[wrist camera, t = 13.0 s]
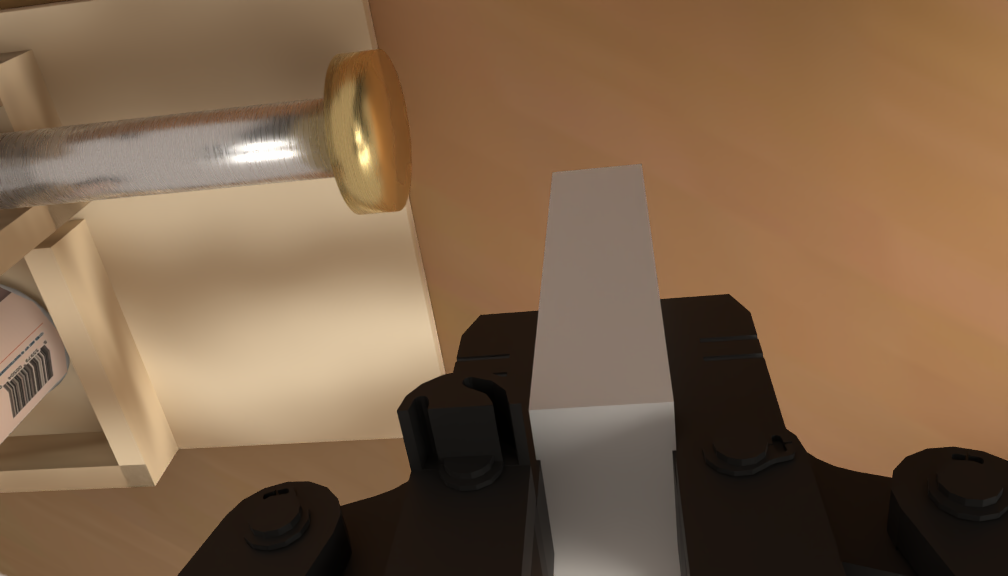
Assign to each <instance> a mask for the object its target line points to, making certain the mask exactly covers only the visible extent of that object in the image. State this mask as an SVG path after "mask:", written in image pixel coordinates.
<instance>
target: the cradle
mask: <svg viewBox="0 0 1008 576" xmlns="http://www.w3.org/2000/svg"><path fill="white" fill-rule="evenodd" d="M375 49H378V46H377V41H376V36H375V31H374V26H373V21H372V17H371V12H370V7H369V2H368V0H71V1H63V2H56V3H48V4H41V5H33V6H26V7H19V8H11V9H4V10H0V133H8V132H17V131H26V130H35V129H44V128H53V127H62V126H71V125H80V124H89V123H98V122H107V121H116V120H125V119H134V118H143V117H152V116H161V115H170V114H179V113H188V112H197V111H206V110H215V109H224V108H233V107H242V106H251V105H260V104H269V103H278V102H287V101H296V100H305V99H314V98H323V97H324V85H325V78H326V73H327V69H328V66H329V63H330V61H331V59H332V58H333V57H334V56H335V55H336V54H341V53H349V52H358V51H366V50H375ZM0 284H2V285H5V286H8V287H10V288H13V289H16V290H19V291H20V292H22V293H23V294H25V295H27V296H28V297H30V298H32V299H33V300H35V301H36V302H37V303H39V304H40V305H41V306H42V307H43V308H44V309H45V310H46V311H47V312H48V313H49V314H50V315H51V317H52V320H53V322H54V324H55V326H56V328H57V331H58V333H59V335H60V337H61V339H62V341H63V344H64V346H65V348H66V350H67V352H68V355H69V358H70V363H69V368H68V371H67V374H66V376H65V377H64V379H63V380H62V382H61V383H60V384H59V385H58V386H56V387H55V388H54V389H53V390H51V391H50V392H49V393H47V394H46V395H45V397H44V398H43V399H42V400H41V401H40V402H39V403H38V404H37V405H36V406H35V407H34V409H33V410H32V411H31V412H30V413H29V414H28V415H27V416H26V417H25V418H24V420H23V421H22V422H21V423H20V424H19V425H18V426H17V427H16V428H15V429H14V430H13V432H12V433H11V434H10V435H9V436H8V437H7V438H6V439H5V440H4V441H3V442H2V444H1V445H0V493H8V492H31V491H54V490H77V489H100V488H123V487H146V486H156V484H157V482H158V481H159V479H160V478H161V476H162V474H163V473H164V471H165V470H166V468H167V467H168V465H169V463H170V462H171V460H172V459H173V457H174V455H175V454H176V452H177V451H178V449H188V448H208V447H228V446H249V445H269V444H289V443H309V442H329V441H349V440H369V439H389V438H403V435H402V431H401V427H400V423H399V419H398V415H397V409H398V408H399V406H400V405H401V403H402V401H403V400H404V398H405V396H406V395H408V394H409V393H410V392H412V391H413V390H414V389H416V388H417V387H418V386H419V385H421V384H422V383H425V382H427V381H429V380H432V379H434V378H436V377H439V376H441V375H444V374H445V369H444V364H443V359H442V354H441V350H440V345H439V340H438V335H437V330H436V326H435V321H434V316H433V311H432V306H431V301H430V297H429V292H428V287H427V282H426V277H425V272H424V268H423V263H422V258H421V253H420V248H419V243H418V239H417V234H416V229H415V224H414V219H413V215H412V210H411V205H410V200H409V196H408V200H407V202H406V205H405V207H404V208H403V209H402V210H401V211H398V212H386V213H375V214H364V215H357V214H355V213H354V212H353V211H351V210H350V208H349V207H348V206H347V204H346V203H345V201H344V199H343V197H342V195H341V193H340V191H339V188H338V186H337V183H336V180H335V177H334V178H323V179H313V180H303V181H292V182H282V183H272V184H261V185H251V186H241V187H230V188H220V189H210V190H199V191H189V192H179V193H168V194H158V195H147V196H137V197H127V198H116V199H106V200H96V201H85V202H75V203H65V204H54V205H44V206H34V207H23V208H13V209H2V210H0Z"/></svg>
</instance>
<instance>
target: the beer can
mask: <svg viewBox="0 0 1008 576" xmlns="http://www.w3.org/2000/svg"><path fill="white" fill-rule="evenodd" d="M69 363H70V358H69V355H68V352H67V350H66V348H65V346H64V344H63V341H62V339H61V337H60V335H59V333H58V331H57V328H56V326H55V324H54V322H53V320H52V317H51V315H50V314H49V313H48V312H47V311H46V310H45V309H44V308H43V307H42V306H41V305H40V304H39V303H37V302H36V301H35V300H33V299H32V298H30V297H28V296H27V295H25V294H23V293H22V292H20V291H19V290H16V289H13V288H10V287H8V286H5V285H2V284H0V445H1V444H2V442H3V441H4V440H5V439H6V438H7V437H8V436H9V435H10V434H11V433H12V432H13V430H14V429H15V428H16V427H17V426H18V425H19V424H20V423H21V422H22V421H23V420H24V418H25V417H26V416H27V415H28V414H29V413H30V412H31V411H32V410H33V409H34V407H35V406H36V405H37V404H38V403H39V402H40V401H41V400H42V399H43V398H44V397H45V395H46V394H47V393H49V392H50V391H51V390H53V389H54V388H55V387H56V386H58V385H59V384H60V383H61V382H62V380H63V379H64V377H65V376H66V374H67V371H68V368H69Z"/></svg>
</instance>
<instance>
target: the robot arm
mask: <svg viewBox="0 0 1008 576" xmlns="http://www.w3.org/2000/svg"><path fill="white" fill-rule="evenodd" d="M397 415H398V419H399V423H400V427H401V431H402V435H403V439H404V443H405V447H406V451H407V455H408V459H409V463H410V468H411V474H410V478H409V481H407V482H406V483H404V484H402V485H400V486H399V487H397V488H395V489H393V490H391V491H388V492H385V493H383V494H380V495H377V496H374V497H371V498H367V499H364V500H360V501H357V502H353V503H350V504H346V505H343V506H340V504H339V501H338V498H337V497H336V496H335V495H334V494H333V493H332V492H331V491H330V490H329V489H328V488H327V487H324V486H321V485H318V484H315V483H312V482H285V483H282V484H278V485H275V486H271V487H268V488H264V489H262V490H261V491H259V492H257V493H255V494H253V495H251V496H250V497H248V498H246V499H244V500H242V501H241V502H240V503H239V504H238V505H237V506H236V507H235V508H234V509H233V510H232V511H231V512H229V513H228V514H227V515H226V516H225V518H224V519H223V520H222V521H221V522H220V524H219V525H218V526H217V527H216V529H215V530H214V531H213V532H212V534H211V535H210V536H209V537H208V539H207V540H206V541H205V542H204V543H203V545H202V546H201V547H200V548H199V550H198V551H197V552H196V553H195V555H194V556H193V557H192V558H191V560H190V561H189V562H188V563H187V565H186V566H185V567H184V568H183V569H182V571H181V572H180V573H179V574H178V576H1008V461H1007V460H1004V459H1002V458H999V457H997V456H994V455H991V454H989V453H986V452H984V451H978V450H972V449H965V448H959V447H944V448H930V449H925V450H923V451H920V452H918V453H915V454H912V455H910V456H907V457H905V459H904V460H903V461H902V462H901V463H900V464H899V465H898V466H897V467H896V468H895V469H894V470H893V476H892V478H890V477H884V476H879V475H873V474H867V473H861V472H856V471H852V470H848V469H844V468H840V467H836V466H833V465H831V464H828V463H826V462H824V461H821V460H819V459H817V458H815V457H814V456H812V455H810V454H809V453H807V452H806V450H805V449H804V447H803V446H802V444H801V442H800V441H799V439H798V438H797V436H796V435H795V434H793V433H792V432H790V431H789V430H787V429H786V427H785V425H784V421H783V418H782V415H781V411H780V408H779V405H778V402H777V398H776V395H775V392H774V388H773V385H772V382H771V379H770V375H769V372H768V369H767V366H766V362H765V359H764V358H763V352H762V349H761V346H760V343H759V339H757V333H756V329H755V326H754V323H753V320H752V316H751V313H750V312H749V311H748V310H747V309H746V308H745V307H743V306H742V305H741V304H740V303H739V302H738V301H737V300H735V299H734V298H733V297H732V296H731V295H730V294H724V295H710V296H697V297H683V298H670V299H660V296H659V289H658V282H657V274H656V267H655V259H654V252H653V245H652V237H651V230H650V223H649V215H648V208H647V200H646V193H645V186H644V178H643V171H642V164H635V165H625V166H614V167H604V168H594V169H583V170H573V171H562V172H553V173H552V183H551V193H550V203H549V212H548V222H547V232H546V242H545V252H544V262H543V272H542V282H541V292H540V302H539V311H528V312H515V313H501V314H488V315H480V316H479V317H478V318H477V319H476V321H475V322H474V323H473V324H472V325H471V326H470V327H469V328H468V329H467V330H466V331H465V333H464V334H463V335H462V337H461V341H460V346H459V350H458V354H457V362H456V363H455V367H454V371H453V373H450V374H444V375H441V376H439V377H436V378H434V379H432V380H429V381H427V382H425V383H422V384H421V385H419V386H418V387H417V388H416V389H414V390H413V391H412V392H410V393H409V394H408V395H406V396H405V398H404V400H403V401H402V403H401V405H400V406H399V408H398V409H397Z"/></svg>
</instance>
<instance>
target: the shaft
mask: <svg viewBox="0 0 1008 576" xmlns="http://www.w3.org/2000/svg"><path fill="white" fill-rule="evenodd" d="M411 164H412V162H411V141H410V131H409V123H408V117H407V111H406V105H405V101H404V96H403V92H402V88H401V85H400V82H399V79H398V76H397V73H396V70H395V68H394V66H393V64H392V62H391V60H390V58H389V57H388V55H387V54H386V53H385V52H384V51H383V50H381V49H375V50H366V51H358V52H349V53H341V54H336V55H335V56H334V57H333V58H332V59H331V61H330V63H329V66H328V69H327V73H326V78H325V85H324V97H323V98H314V99H305V100H296V101H287V102H278V103H269V104H260V105H251V106H242V107H233V108H224V109H215V110H206V111H197V112H188V113H179V114H170V115H161V116H152V117H143V118H134V119H125V120H116V121H107V122H98V123H89V124H80V125H71V126H62V127H53V128H44V129H35V130H26V131H17V132H8V133H0V210H2V209H13V208H23V207H34V206H44V205H54V204H65V203H75V202H85V201H96V200H106V199H116V198H127V197H137V196H147V195H158V194H168V193H179V192H189V191H199V190H210V189H220V188H230V187H241V186H251V185H261V184H272V183H282V182H292V181H303V180H313V179H323V178H334V177H335V180H336V183H337V186H338V188H339V191H340V193H341V195H342V197H343V199H344V201H345V203H346V204H347V206H348V207H349V208H350V210H351V211H353V212H354V213H355V214H357V215H364V214H375V213H386V212H398V211H401V210H402V209H403V208H404V207H405V205H406V202H407V200H408V196H409V191H410V184H411Z"/></svg>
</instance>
